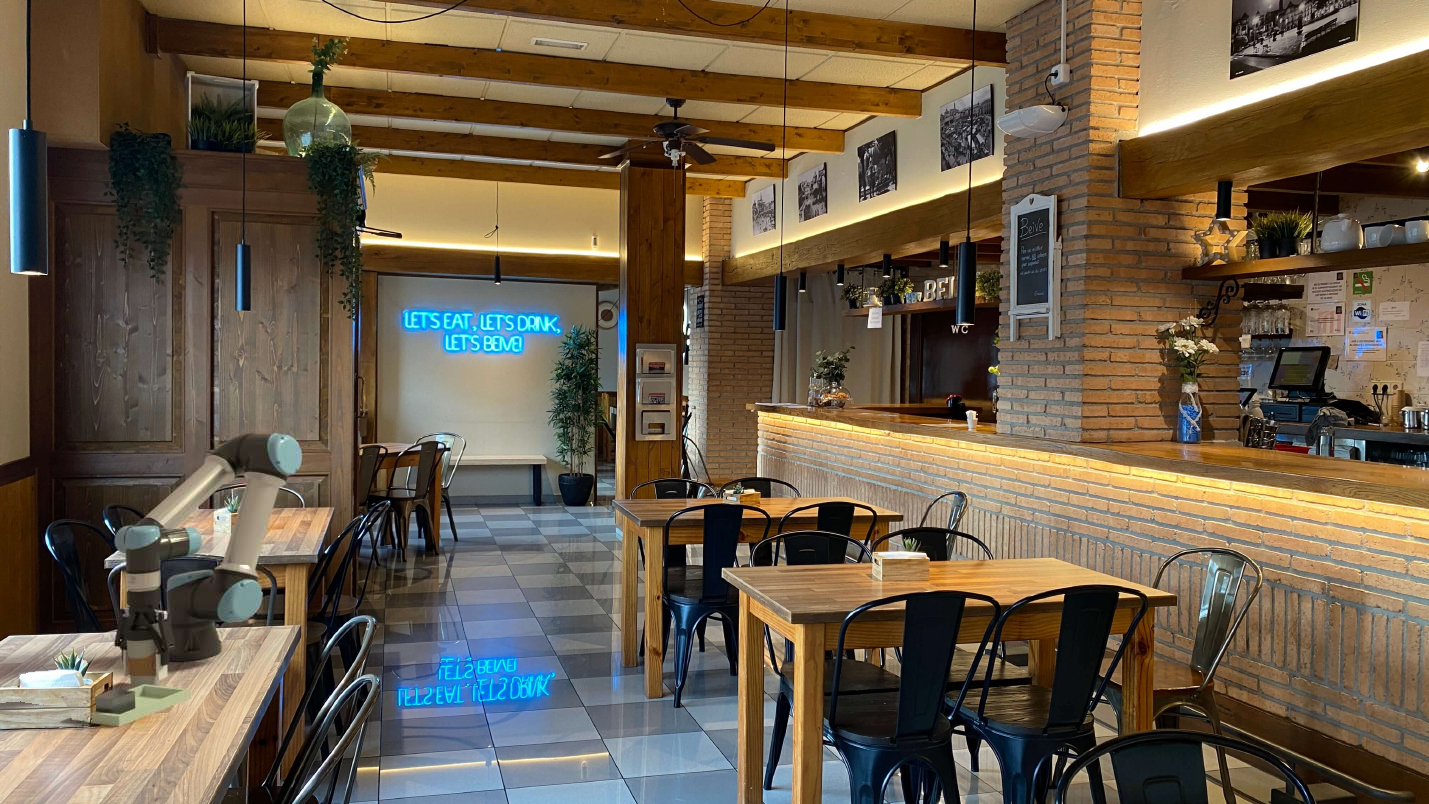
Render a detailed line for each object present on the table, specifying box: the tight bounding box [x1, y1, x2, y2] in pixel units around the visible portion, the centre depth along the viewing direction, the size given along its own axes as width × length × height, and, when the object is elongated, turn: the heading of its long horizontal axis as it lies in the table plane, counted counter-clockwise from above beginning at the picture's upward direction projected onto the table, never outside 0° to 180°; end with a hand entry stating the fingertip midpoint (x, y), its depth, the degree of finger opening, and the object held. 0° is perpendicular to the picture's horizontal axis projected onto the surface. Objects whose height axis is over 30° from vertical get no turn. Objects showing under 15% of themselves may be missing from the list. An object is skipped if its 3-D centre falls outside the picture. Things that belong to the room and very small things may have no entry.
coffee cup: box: [126, 625, 161, 688], centre depth 255 cm, size 8×8×15 cm
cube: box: [95, 688, 135, 715], centre depth 231 cm, size 6×6×5 cm
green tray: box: [90, 684, 191, 728], centre depth 236 cm, size 20×14×3 cm
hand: (145, 676), depth 255 cm, fingers open, 10 cm apart
